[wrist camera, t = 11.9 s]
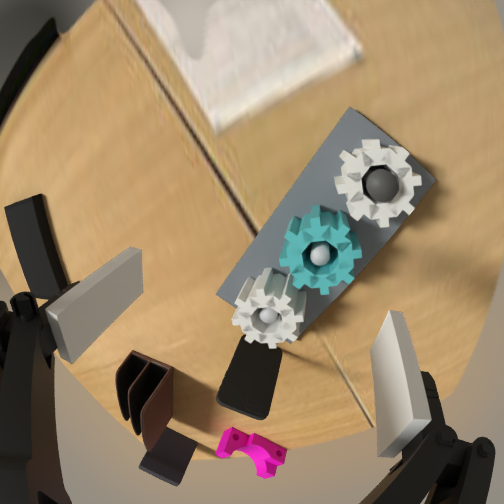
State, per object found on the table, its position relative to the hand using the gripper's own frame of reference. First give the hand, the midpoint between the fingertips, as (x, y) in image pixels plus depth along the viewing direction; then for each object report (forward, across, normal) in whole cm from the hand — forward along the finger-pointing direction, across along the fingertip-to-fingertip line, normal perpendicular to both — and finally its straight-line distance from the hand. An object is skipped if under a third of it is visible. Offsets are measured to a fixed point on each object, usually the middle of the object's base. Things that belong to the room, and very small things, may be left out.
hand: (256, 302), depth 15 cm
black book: (+25, -53, -20) cm, 62 cm away
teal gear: (+24, +4, -5) cm, 25 cm away
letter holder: (+25, -22, -48) cm, 58 cm away
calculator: (+25, -17, -68) cm, 74 cm away
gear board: (+25, +4, -5) cm, 26 cm away
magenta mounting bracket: (+25, +3, -58) cm, 64 cm away
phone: (+25, -1, -25) cm, 36 cm away
